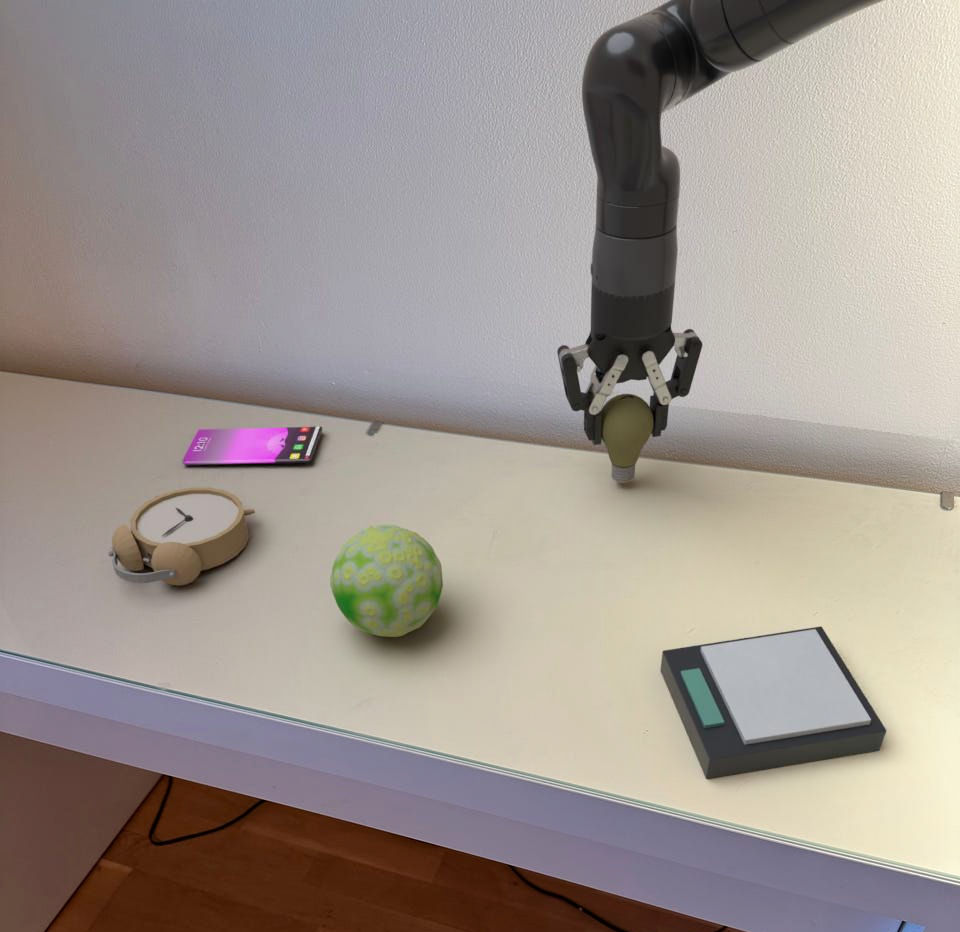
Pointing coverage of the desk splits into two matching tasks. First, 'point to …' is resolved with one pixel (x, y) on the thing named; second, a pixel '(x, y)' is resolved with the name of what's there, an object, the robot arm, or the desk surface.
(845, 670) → the scale
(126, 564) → the alarm clock
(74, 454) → the desk surface
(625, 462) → the light bulb
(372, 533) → the decorative ball
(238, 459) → the smartphone
